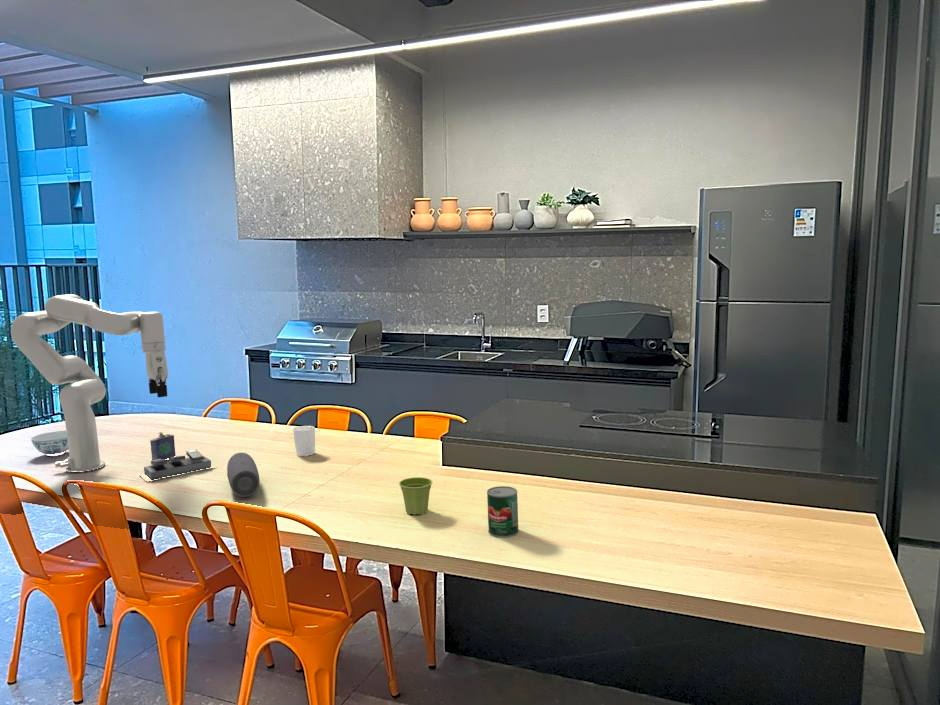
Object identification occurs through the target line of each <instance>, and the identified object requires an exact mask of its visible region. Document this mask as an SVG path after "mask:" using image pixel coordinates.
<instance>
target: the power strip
mask: <svg viewBox="0 0 940 705" xmlns="http://www.w3.org/2000/svg"><path fill="white" fill-rule="evenodd" d="M167 462H168V463H167V464H162V465H157V466H156V465H148V466H143V472H144V473H143V474H145V475H147V476H148V477H149V478H150V479H151V480H154V479H159V478H162V477H167V476H172V475H177V474H182V473H187V472H191V471H196V470H200V469H206V468H210V467H211V464H212V460H211V459H210V458H208V457H206V456H204V455H203V459H202V460H197V461H192V460H191V459H190V458H189V457H187V458H186V457H185V459H183V460H178V461H167Z"/></svg>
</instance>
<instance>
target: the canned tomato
mask: <svg viewBox="0 0 940 705" xmlns="http://www.w3.org/2000/svg"><path fill="white" fill-rule="evenodd" d="M486 495H487V498H486V500H487V523H488V524H487V525H488V526H487V527H488V534H489V535H490V536H493V537H495V538H510V537H515V536H516V535H518V534H519V533H520V532H519V506H518V505H519V504H518V502H519V501H518V490H517V488H515V487H511V486H508V485H507V486H504V485H503V486H494V487H493V486H492V487H490V488H488V489H487V491H486Z"/></svg>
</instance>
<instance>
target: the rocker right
mask: <svg viewBox="0 0 940 705" xmlns="http://www.w3.org/2000/svg"><path fill="white" fill-rule="evenodd" d="M185 453H186V454H185V455H186V456H187V458H190V459H191V460H192V461H197V460H202V459H203V456H204V455H203V454H202V453H201V452H200V451H199V450H198V449H191V450H186V452H185Z"/></svg>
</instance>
